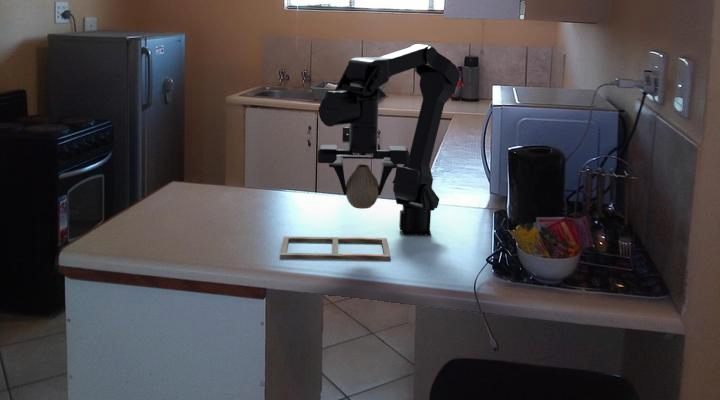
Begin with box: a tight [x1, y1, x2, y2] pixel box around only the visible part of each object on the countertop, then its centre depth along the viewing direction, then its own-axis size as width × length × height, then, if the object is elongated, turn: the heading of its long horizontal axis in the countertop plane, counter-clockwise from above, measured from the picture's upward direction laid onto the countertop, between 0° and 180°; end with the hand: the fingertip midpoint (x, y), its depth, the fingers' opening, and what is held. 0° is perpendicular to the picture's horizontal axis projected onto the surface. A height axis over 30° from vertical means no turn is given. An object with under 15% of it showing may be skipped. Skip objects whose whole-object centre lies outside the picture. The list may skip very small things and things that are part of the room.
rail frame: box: [279, 236, 392, 261], centre depth 163 cm, size 23×12×1 cm, turn 92°
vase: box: [345, 164, 379, 210], centre depth 160 cm, size 7×7×9 cm
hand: (362, 194), depth 160 cm, fingers closed on vase, 7 cm apart
